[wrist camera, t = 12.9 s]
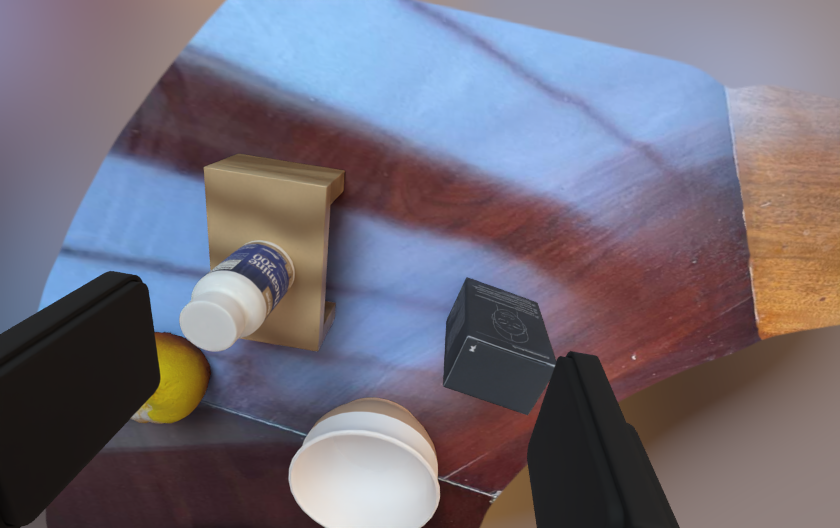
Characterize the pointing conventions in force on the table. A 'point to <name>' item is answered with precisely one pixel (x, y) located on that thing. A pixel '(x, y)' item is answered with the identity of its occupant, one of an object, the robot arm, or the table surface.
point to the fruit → (176, 381)
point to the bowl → (367, 468)
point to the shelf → (278, 235)
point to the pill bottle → (237, 295)
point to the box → (497, 347)
